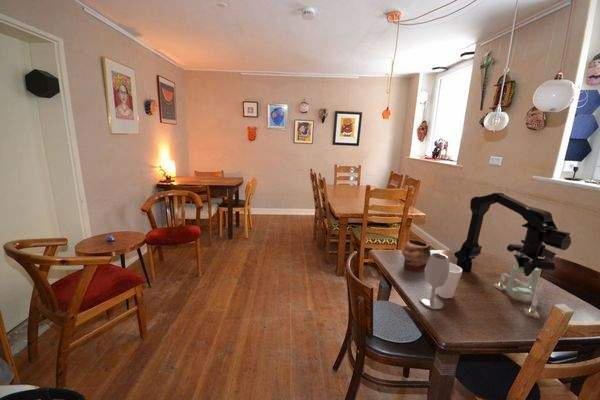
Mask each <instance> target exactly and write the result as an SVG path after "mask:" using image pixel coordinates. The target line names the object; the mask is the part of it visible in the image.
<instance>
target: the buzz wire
mask: <svg viewBox="0 0 600 400" xmlns="http://www.w3.org/2000/svg"><path fill="white" fill-rule="evenodd" d="M509 276H510V274H507V273H506V272H503V273H501V275H500V280H499V282H498V283H493V285H492V286H493V287H494V288H496V289H498V291H499V290H500V291H501V292H502V291H506V290H505V288H506V287H507V285H504V284H505V281H506V278H507V279H509ZM514 283H517V284H519V285H520V286H522V287H523V288H528V289H530V292H531V294H532V295H531V297H532V300H531V303H530V307H529V308H526V307H524V308H523V311H524V315H525V316H527V317H529V318H533V319H537V320H540V314H539V312H538V311H537V310H536V309H537V306H538V303H539V298H538V296H537V294H536V290H535V291H534V289H533V288H532V287H531V286H529V285H530V284H529V285H528V284H527V283H525V282H522V281H521V280H519V279H517V278H515V282H514Z"/></svg>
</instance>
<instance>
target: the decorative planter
mask: <svg viewBox="0 0 600 400" xmlns="http://www.w3.org/2000/svg"><path fill="white" fill-rule="evenodd" d="M401 254H402V256H403V258H404V260H403V261H404V262H403V267H404V268H406V269H407V270H409V271H412V272H416V273H420V272H424V271H425V268H426V265H427V262H428V259H429V257H430V256H431V254H432V253H431V245H430V244H429V243H426V242H424V241H421V240H416V239H409V240H408V241H407V242H406V245H405V247H403V248H402V250H401Z"/></svg>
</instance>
